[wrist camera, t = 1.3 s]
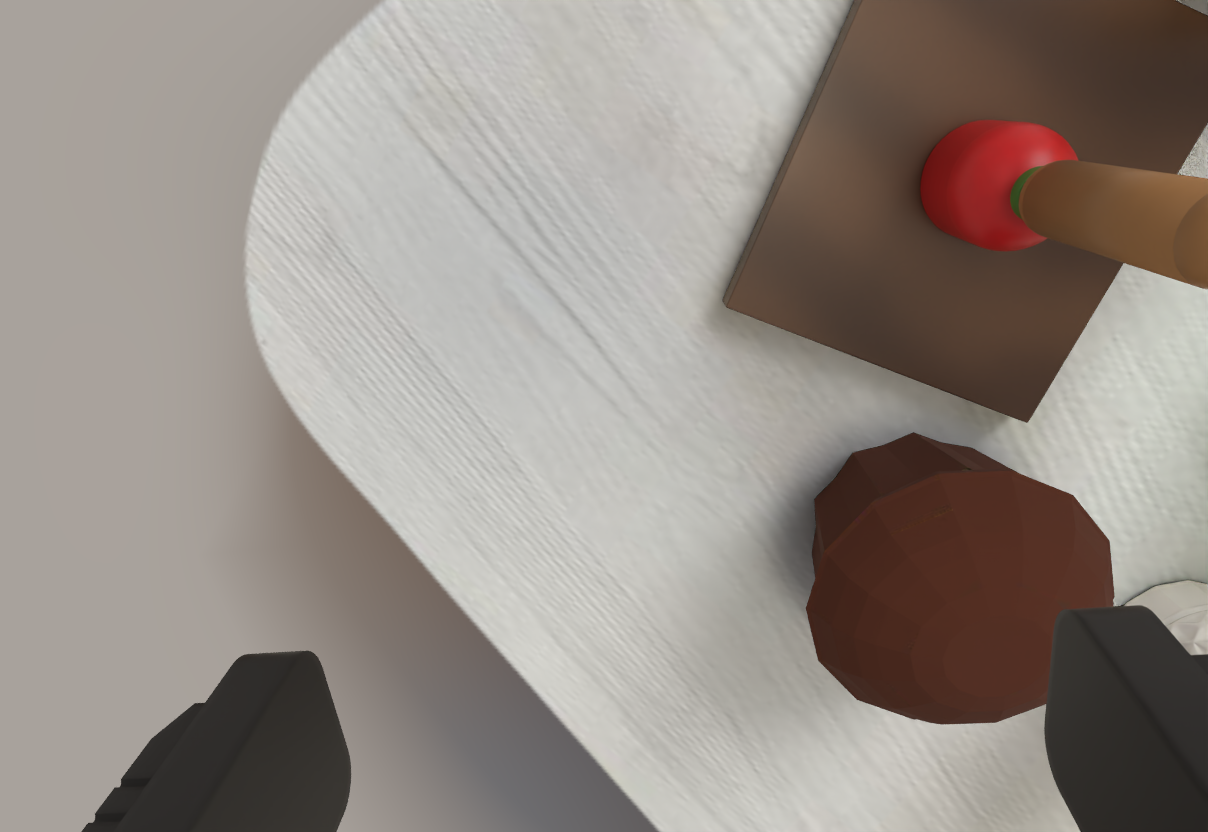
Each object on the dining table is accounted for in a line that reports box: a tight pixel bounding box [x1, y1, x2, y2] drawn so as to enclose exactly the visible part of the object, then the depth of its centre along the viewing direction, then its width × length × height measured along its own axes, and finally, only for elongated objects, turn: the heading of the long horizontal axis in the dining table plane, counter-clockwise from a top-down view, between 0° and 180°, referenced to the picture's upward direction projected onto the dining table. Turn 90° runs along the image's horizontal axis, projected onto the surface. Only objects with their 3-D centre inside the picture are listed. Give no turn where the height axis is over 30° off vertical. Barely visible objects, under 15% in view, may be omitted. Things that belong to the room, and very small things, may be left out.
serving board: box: [723, 0, 1208, 423], centre depth 33 cm, size 16×14×1 cm
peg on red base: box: [920, 120, 1208, 289], centre depth 25 cm, size 4×4×15 cm
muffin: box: [806, 432, 1114, 724], centre depth 34 cm, size 12×11×10 cm
